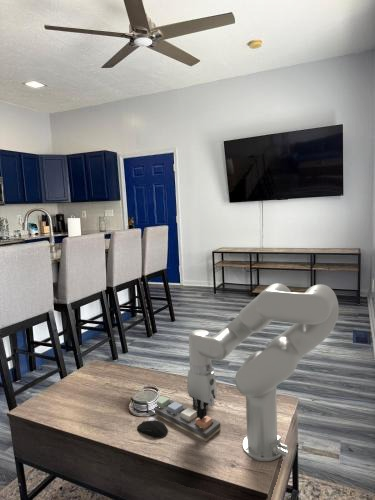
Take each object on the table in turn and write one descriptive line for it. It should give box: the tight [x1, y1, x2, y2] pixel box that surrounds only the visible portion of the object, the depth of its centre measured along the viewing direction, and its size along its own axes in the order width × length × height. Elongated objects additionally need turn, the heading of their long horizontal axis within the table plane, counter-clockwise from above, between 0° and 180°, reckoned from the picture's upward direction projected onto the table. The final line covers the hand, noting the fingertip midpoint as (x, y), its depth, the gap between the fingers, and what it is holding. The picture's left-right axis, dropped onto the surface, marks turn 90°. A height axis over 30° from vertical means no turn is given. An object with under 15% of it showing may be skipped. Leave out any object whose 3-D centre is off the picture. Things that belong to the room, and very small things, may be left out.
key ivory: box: [181, 407, 197, 422], centre depth 128 cm, size 4×4×2 cm
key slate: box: [167, 401, 184, 415], centre depth 133 cm, size 4×4×2 cm
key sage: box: [157, 395, 170, 408], centre depth 138 cm, size 4×4×2 cm
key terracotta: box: [196, 415, 213, 429], centre depth 124 cm, size 4×4×2 cm
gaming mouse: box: [136, 420, 169, 439], centre depth 126 cm, size 6×15×4 cm, turn 63°
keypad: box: [154, 398, 222, 442], centre depth 131 cm, size 29×8×3 cm, turn 48°
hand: (201, 416), depth 124 cm, fingers closed
